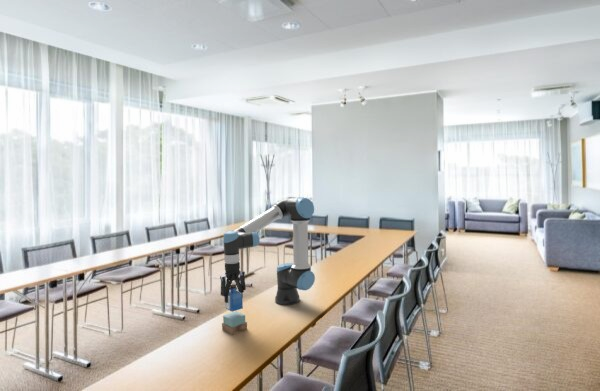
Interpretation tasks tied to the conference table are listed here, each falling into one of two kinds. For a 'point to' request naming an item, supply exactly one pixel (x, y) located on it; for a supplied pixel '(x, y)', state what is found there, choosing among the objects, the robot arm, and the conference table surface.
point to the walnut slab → (234, 328)
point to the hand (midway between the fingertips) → (234, 306)
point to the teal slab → (234, 319)
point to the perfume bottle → (235, 299)
